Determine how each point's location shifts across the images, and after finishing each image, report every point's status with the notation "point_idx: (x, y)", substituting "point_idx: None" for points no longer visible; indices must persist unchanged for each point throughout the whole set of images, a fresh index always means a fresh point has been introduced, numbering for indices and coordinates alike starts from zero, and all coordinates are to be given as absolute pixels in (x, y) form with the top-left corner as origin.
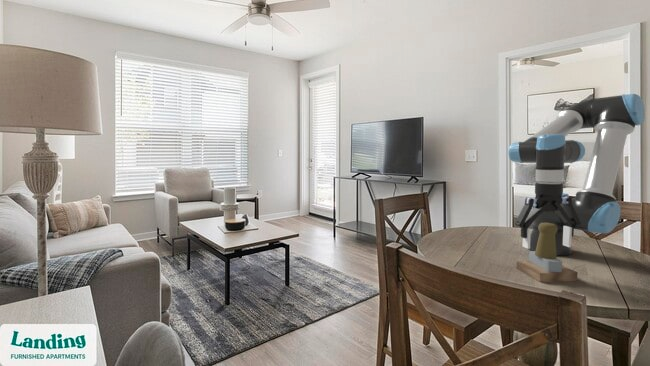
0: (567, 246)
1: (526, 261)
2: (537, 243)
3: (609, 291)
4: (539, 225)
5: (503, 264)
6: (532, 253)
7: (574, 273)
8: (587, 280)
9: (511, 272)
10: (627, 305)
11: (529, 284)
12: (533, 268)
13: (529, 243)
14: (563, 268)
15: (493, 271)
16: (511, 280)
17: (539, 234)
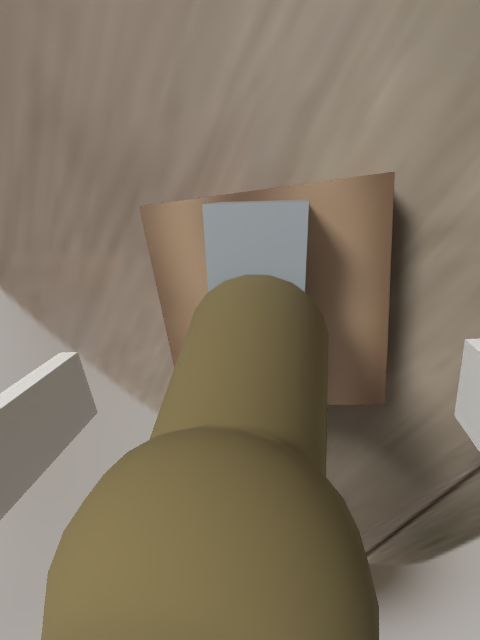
0: (458, 402)
1: (199, 215)
2: (175, 366)
3: (413, 479)
4: (45, 600)
5: (110, 121)
6: (206, 254)
7: (364, 401)
8: (429, 380)
9: (117, 265)
10: (368, 555)
11: (145, 398)
12: (183, 341)
13: (63, 444)
14: (351, 349)
15: (37, 249)
16: (90, 358)
17: (152, 432)
